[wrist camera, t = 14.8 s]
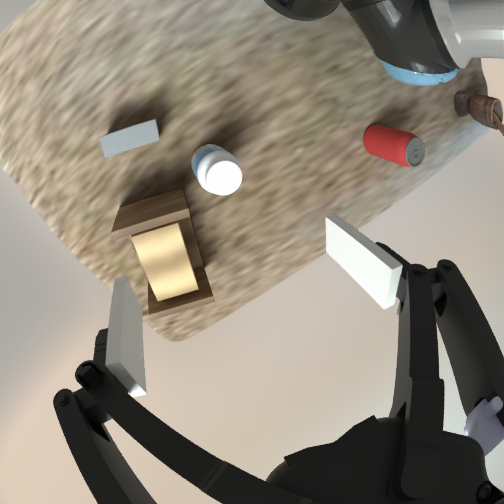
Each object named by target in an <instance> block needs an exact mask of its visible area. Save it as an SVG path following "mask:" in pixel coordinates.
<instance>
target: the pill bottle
mask: <svg viewBox="0 0 504 504" xmlns="http://www.w3.org/2000/svg"><path fill="white" fill-rule="evenodd" d="M191 166H192V170H193V172H194V174H195V176H196V178H197V179H198V181H199V183H200V184H201V186H202V187H203V188H204V189H205V190H207V191H209V192H211V193H215V194H218V195H228V194H231V193H233V192H234V191H235V190H237V188H238V187H239V186H240V184H241V181H242V172H241V169H240V164H239V162H238V160H237V159H236V158H235V157H234V156H233V155H232V154H231V153H229V152H227V151H226V150H224V149H223V148H221V147H220V146H217V145H214V144H207V145H203V146H201V147H200V148H198V149H197V150H196V151H195V152H194V154H193V156H192V159H191Z"/></svg>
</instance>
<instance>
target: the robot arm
mask: <svg viewBox="0 0 504 504" xmlns="http://www.w3.org/2000/svg"><path fill="white" fill-rule="evenodd" d="M264 1H265V2H266V3H267V4H268V5H269V6H270V7H271V8H273V9H274V10H275V11H277V12H278V13H280V14H282V15H284V16H286V17H289V18H292V19H295V20H301V21H313V20H317V19H320V18H323V17H325V16H327V15H329V14H331V13H332V12H333V11H334V10H335V9H336V8H337V6H338V5H339V3H340V2H342V3H343V5H344V6H345V7H346V9H347V10H348V12H349V13H350V15H351V16H352V18H353V19H354V20H355V22H356V23H357V25H358V26H359V28H360V29H361V31H362V33H363V34H364V36H365V37H366V39H367V40H368V42H369V44H370V45H371V47H372V49H373V50H374V51H373V52H374V54H375V56H376V58H377V59H378V60H379V61H380V62H381V64H382V65H383V67H384V69H385V70H386V72H387V73H388V74H389V75H390V76H392V77H393V78H394V79H395V80H397V81H400V82H403V83H406V84H411V85H436V84H438V83H439V82H444V83H445V82H447V81H450V80H451V79H453V78H454V77H455V76H456V74H457V70H458V69H460V68H461V69H462V68H465V67H466V66H467V64H468V62H469V61H470V59H472V58H502V59H504V0H264ZM326 252H327V253H328V254H329V255H330V256H331V257H332V258H333V259H334V260H335V261H336V262H337V263H339V265H341V267H342V268H344V270H346V271H347V272H348V273H349V274H350V275H351V276H352V277H353V278H354V279H355V280H356V281H357V282H358V283H359V284H360V285H361V286H362V287H363V288H364V289H365V290H366V291H367V292H368V293H369V295H371V296H372V297H373V299H375V301H376V302H377V303H378V304H379V305H380V306H381V307H382V308H383V309H386V308H388V307H390V306H392V305H394V303H395V298H396V297H398V298H399V299H400V303H399V307H398V310H397V314H399V335H398V355H397V368H396V379H395V388H394V397H393V405H392V408H391V411H390V414H389V417H386V418H379V419H376V417H375V416H374V415H373V416H371V417H369V418H367V419H366V420H364V421H362V422H360V423H358V424H356V425H355V426H353V427H352V428H351V429H350V430H348V431H347V432H346V433H345V434H344V435H343V436H341V437H340V438H339V439H338V440H336V441H335V442H333V443H329V444H324V445H319V446H314V447H309V448H305V449H303V450H301V451H298V452H295V453H293V454H290V455H288V456H285V457H284V460H285V461H284V462H283V463H281V464H280V465H279V466H277V467H276V468H275V469H274V470H273V471H272V472H271V473H270V475H269V476H268V478H267V479H266V481H264V480H262V479H259V478H257V477H255V476H253V475H251V474H249V473H247V472H245V471H243V470H241V469H240V468H237V467H236V466H234V465H232V464H230V463H228V462H226V461H222V460H221V459H219V458H217V457H215V456H214V455H212V454H210V453H208V452H207V451H205V450H204V449H202V448H201V447H199V446H197V445H196V444H194V443H193V442H191V441H190V440H188V439H187V438H185V437H184V436H182V435H181V434H179V433H178V432H176V431H175V430H174V429H172V428H171V427H169V426H168V425H167V424H165V423H164V422H163V421H161V420H160V419H159V418H157V417H156V416H155V415H153V414H152V413H151V412H149V411H148V410H147V409H146V408H144V407H143V406H142V405H141V404H140V403H138V402H137V401H136V400H135V399H133V398H132V397H131V396H130V395H129V394H128V392H129V393H130V394H131V395H132V396H133V397H136V396H140V395H145V394H147V393H146V382H145V368H144V351H143V324H142V323H143V321H142V307H141V305H140V303H139V301H138V299H137V297H136V295H135V293H134V291H133V289H132V287H131V285H130V283H129V281H128V279H127V276H123V277H120V278H116V279H115V282H114V288H113V295H112V303H111V311H110V318H109V327H108V328H106V329H102V330H100V331H99V333H98V335H97V337H96V341H95V349H94V352H95V353H94V358H93V360H88V361H85V362H83V363H81V364H80V365H79V367H78V368H77V370H76V372H75V377H76V380H77V382H78V383H79V384H80V385H81V386H82V387H83V388H81V389H79V390H77V391H76V392H72V391H71V390H69V389H62V390H60V391H59V392H57V393H56V395H55V397H54V400H53V404H54V408H55V411H56V414H57V417H58V420H59V423H60V425H61V428H62V431H63V433H64V436H65V438H66V441H67V443H68V446H69V448H70V450H71V453H72V455H73V457H74V459H75V461H76V463H77V465H78V468H79V470H80V472H81V474H82V476H83V477H84V480H85V481H86V483H87V485H88V487H89V489H90V491H91V492H92V494H93V496H94V498H95V499H96V501H97V503H98V504H157V503H156V502H155V501H154V499H153V498H152V497H151V495H150V494H149V493H148V492H147V490H146V489H145V488H144V486H143V485H142V483H141V482H140V481H139V479H138V478H137V477H136V475H135V474H134V472H133V471H132V469H131V468H130V466H129V465H128V463H127V462H126V460H125V459H124V457H123V456H122V454H121V452H120V451H119V449H118V448H117V446H116V444H115V443H114V441H113V439H112V437H111V436H110V434H109V432H108V430H107V429H106V427H105V425H104V423H105V422H106V421H108V420H110V419H112V418H113V419H114V420H115V421H116V422H117V423H118V424H119V425H120V426H121V427H122V428H123V429H124V430H125V431H126V432H127V433H128V434H130V435H131V436H132V437H133V438H134V439H135V440H136V441H137V442H139V443H140V444H141V445H142V446H143V447H144V448H145V449H147V450H148V451H149V452H150V453H151V454H153V455H154V456H155V457H156V458H158V459H159V460H160V461H162V462H163V463H164V464H165V465H167V466H168V467H169V468H171V469H172V470H173V471H175V472H176V473H178V474H179V475H180V476H182V477H183V478H184V479H186V480H187V481H189V482H190V483H192V484H193V485H195V486H196V487H198V488H199V489H200V490H201V491H203V492H204V493H206V494H207V495H209V496H210V497H212V498H214V499H215V500H217V501H219V502H220V503H222V504H504V492H502V491H501V490H499V489H498V488H497V487H495V486H494V485H493V484H492V483H491V482H490V481H489V479H488V476H487V472H486V467H485V456H486V455H487V454H488V453H489V452H491V451H492V450H493V449H494V448H495V447H496V446H497V445H498V444H499V443H500V442H501V441H502V440H504V357H503V355H502V352H501V350H500V347H499V345H498V343H497V341H496V338H495V336H494V334H493V332H492V330H491V327H490V325H489V323H488V321H487V319H486V317H485V315H484V313H483V311H482V310H481V307H480V306H479V304H478V302H477V300H476V298H475V296H474V295H473V293H472V291H471V289H470V287H469V286H468V284H467V282H466V281H465V279H464V277H463V276H462V274H461V272H460V271H459V269H458V267H457V266H456V265H455V264H454V263H453V262H452V261H450V260H445V259H443V260H440V261H438V264H437V267H436V268H431V269H427V268H426V267H425V266H423V265H420V264H410V263H409V262H407V261H406V260H405V259H403V258H402V257H401V256H400V255H398V254H396V252H394V251H393V250H391V248H389V247H388V246H387V245H385V244H382V243H379V242H376V243H374V242H373V241H371V240H370V239H369V238H367V237H366V236H365V235H363V234H362V233H361V232H359V231H358V230H357V229H355V228H354V227H353V226H351V225H350V224H348V223H347V222H346V221H344V220H343V219H342V218H340V217H339V216H337V215H336V214H334V215H331V216H327V217H326ZM436 323H437V325H438V328H439V331H440V333H441V336H442V339H443V342H444V345H445V348H446V351H447V354H448V357H449V360H450V363H451V366H452V369H453V373H454V376H455V380H456V384H457V387H458V391H459V395H460V399H461V402H462V406H463V409H464V411H465V414H466V416H467V420H466V426H465V428H464V431H465V433H466V434H467V435H468V436H464V435H459V434H455V433H451V432H447V431H443V421H444V420H443V419H444V381H443V379H440V378H439V356H438V340H437V327H436Z"/></svg>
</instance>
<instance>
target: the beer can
mask: <svg viewBox="0 0 504 504" xmlns="http://www.w3.org/2000/svg"><path fill="white" fill-rule="evenodd" d="M364 146H365V148H366V150H367V151H368V152H369V153H370V154H372V155H375V156H378V157H380V158H383V159H386V160H389V161H391V162H394V163H396V164H399V165H402V166H407V167H411V166H412V167H417V166H418V165H420V164H421V162H422V161H423V158H424V155H425V146H424V143H423V141H422V140H421V139H420V138H418V137H417V136H415V135H414V134H412V133H410V132H407V131H403V130H399V129H395V128H390V127H386V126H382V125H376V124H375V125H372V126H370V127H369V128H368V129H367V130H366V132H365V135H364Z"/></svg>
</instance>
